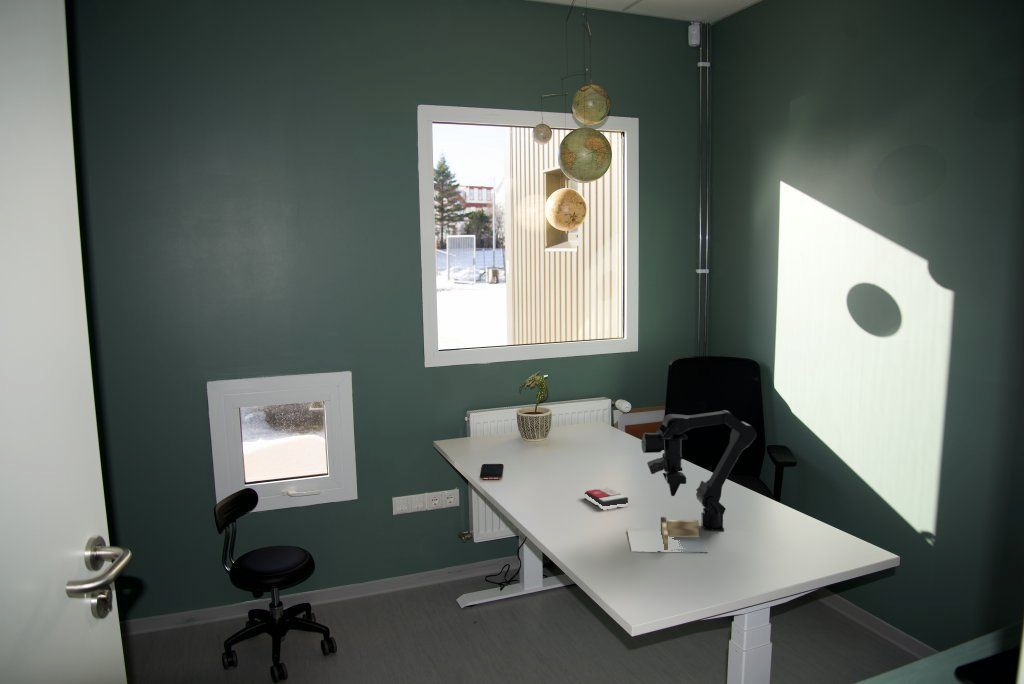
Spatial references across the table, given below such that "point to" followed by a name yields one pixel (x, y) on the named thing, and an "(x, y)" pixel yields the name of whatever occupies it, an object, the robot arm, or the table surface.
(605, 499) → the red and black book
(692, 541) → the card
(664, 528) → the fence panel
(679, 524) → the fence base
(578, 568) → the table surface
